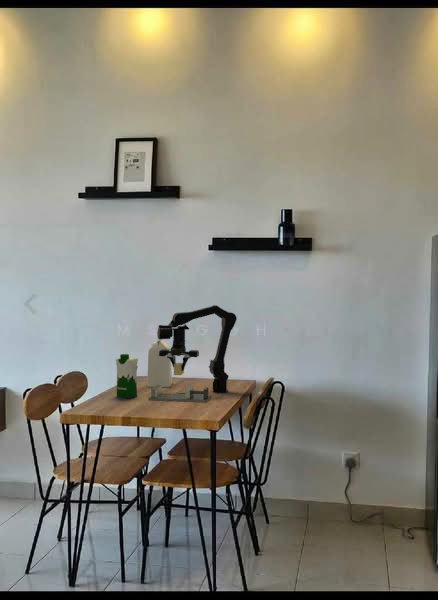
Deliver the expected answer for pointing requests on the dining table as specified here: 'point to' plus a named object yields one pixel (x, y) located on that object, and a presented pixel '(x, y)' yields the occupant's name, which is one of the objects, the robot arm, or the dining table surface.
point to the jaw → (195, 392)
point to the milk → (159, 366)
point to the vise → (174, 396)
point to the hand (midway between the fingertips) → (178, 371)
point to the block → (178, 369)
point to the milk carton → (126, 376)
